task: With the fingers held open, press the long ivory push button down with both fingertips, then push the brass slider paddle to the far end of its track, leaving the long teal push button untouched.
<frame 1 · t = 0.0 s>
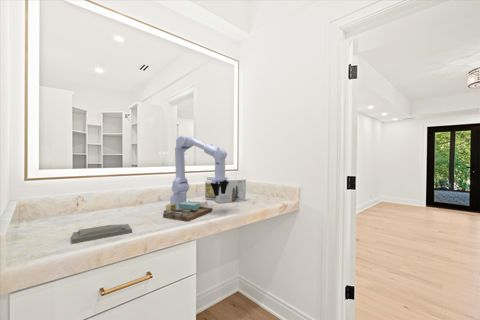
hand: (219, 194, 125), 10 cm above the worktop, tool pointing down, fingers open, 7 cm apart
soap mold: (103, 236, 89), on the worktop
ivory button: (197, 203, 128), point 5 cm above the worktop, slide at 0.0 cm
brass slider: (170, 208, 116), point 4 cm above the worktop, slide at 0.0 cm
supplement tub: (213, 199, 166), on the worktop
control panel: (189, 214, 120), on the worktop
teal button: (189, 205, 120), point 5 cm above the worktop, slide at 0.0 cm
skincare box: (231, 202, 156), on the worktop
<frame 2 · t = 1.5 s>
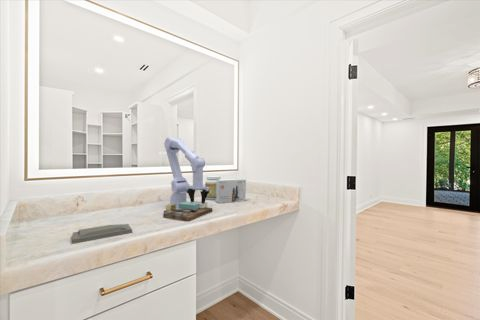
hand: (197, 202, 128), 5 cm above the worktop, tool pointing down
ivory button: (197, 204, 128), point 4 cm above the worktop, slide at 1.0 cm, touching gripper
everything else where it was.
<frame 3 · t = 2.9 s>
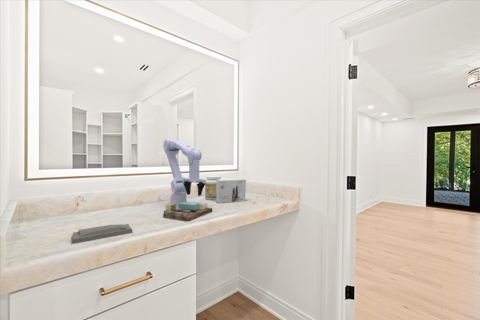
hand: (194, 195, 127), 9 cm above the worktop, tool pointing down, fingers open, 7 cm apart
ivory button: (197, 205, 128), point 3 cm above the worktop, slide at 1.4 cm
everything else where it was.
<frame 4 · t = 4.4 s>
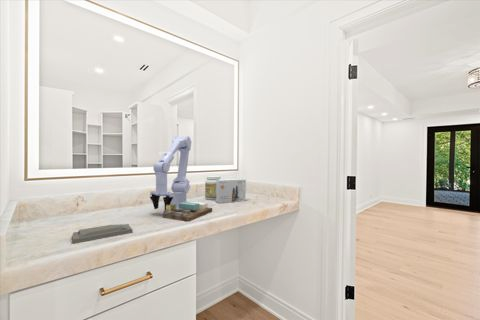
hand: (161, 209, 119), 3 cm above the worktop, tool pointing down, fingers open, 7 cm apart
brass slider: (171, 208, 116), point 4 cm above the worktop, slide at 0.0 cm, touching gripper
everything else where it was.
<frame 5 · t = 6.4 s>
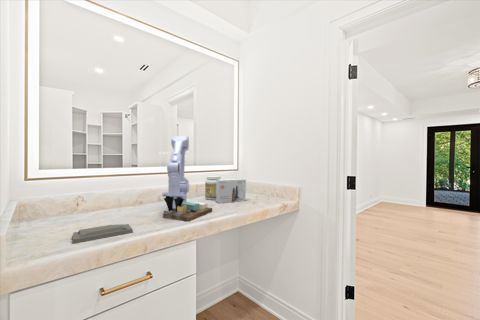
hand: (174, 211, 115), 3 cm above the worktop, tool pointing down, fingers open, 4 cm apart
brass slider: (182, 209, 113), point 4 cm above the worktop, slide at 7.4 cm, touching gripper
everything else where it was.
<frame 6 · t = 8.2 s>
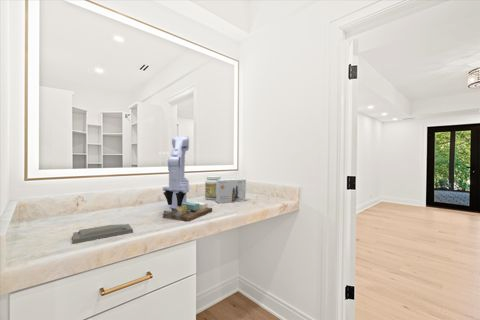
hand: (174, 205, 115), 6 cm above the worktop, tool pointing down, fingers open, 6 cm apart
nothing on the worktop moved.
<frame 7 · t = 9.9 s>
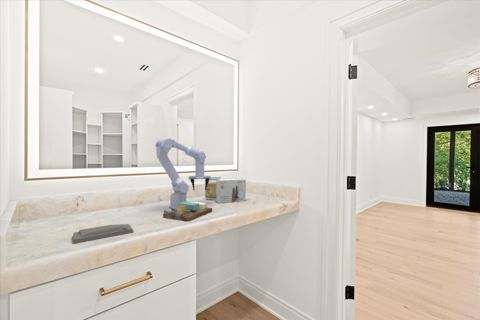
hand: (199, 190, 146), 9 cm above the worktop, tool pointing down, fingers open, 7 cm apart
brass slider: (181, 209, 113), point 4 cm above the worktop, slide at 7.1 cm
everything else where it was.
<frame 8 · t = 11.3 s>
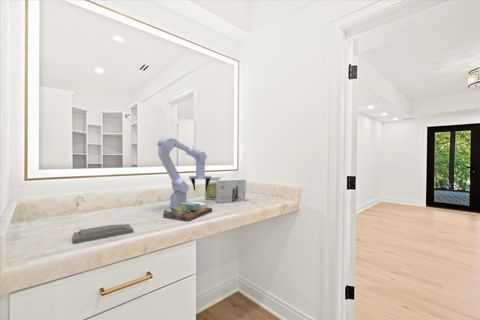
hand: (200, 189, 147), 9 cm above the worktop, tool pointing down, fingers open, 7 cm apart
nothing on the worktop moved.
at the end: ivory button slide at 1.4 cm; brass slider slide at 7.1 cm; teal button slide at 0.0 cm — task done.
